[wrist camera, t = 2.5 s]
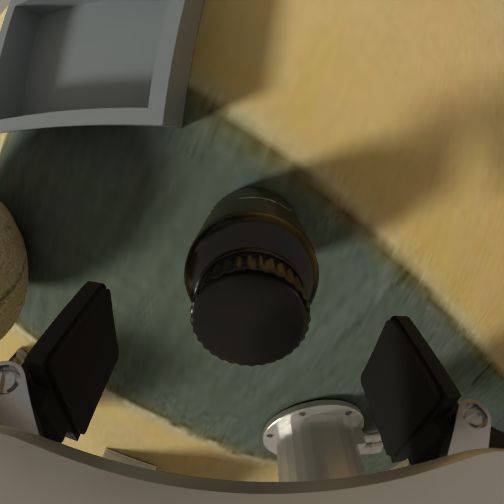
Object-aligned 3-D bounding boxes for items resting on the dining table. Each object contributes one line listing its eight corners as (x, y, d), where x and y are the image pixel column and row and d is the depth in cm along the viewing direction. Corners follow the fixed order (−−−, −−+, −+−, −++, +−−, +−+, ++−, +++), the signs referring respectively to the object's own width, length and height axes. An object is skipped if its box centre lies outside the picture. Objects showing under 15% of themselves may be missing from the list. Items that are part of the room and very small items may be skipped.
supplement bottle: (279, 171, 21) (312, 210, 10) (308, 254, 23) (354, 355, 12) (191, 205, 22) (134, 277, 11) (227, 283, 24) (211, 397, 13)
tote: (207, -13, 15) (197, -45, 11) (181, 127, 20) (162, 125, 15) (42, 12, 14) (11, -1, 10) (19, 131, 19) (-18, 135, 14)
